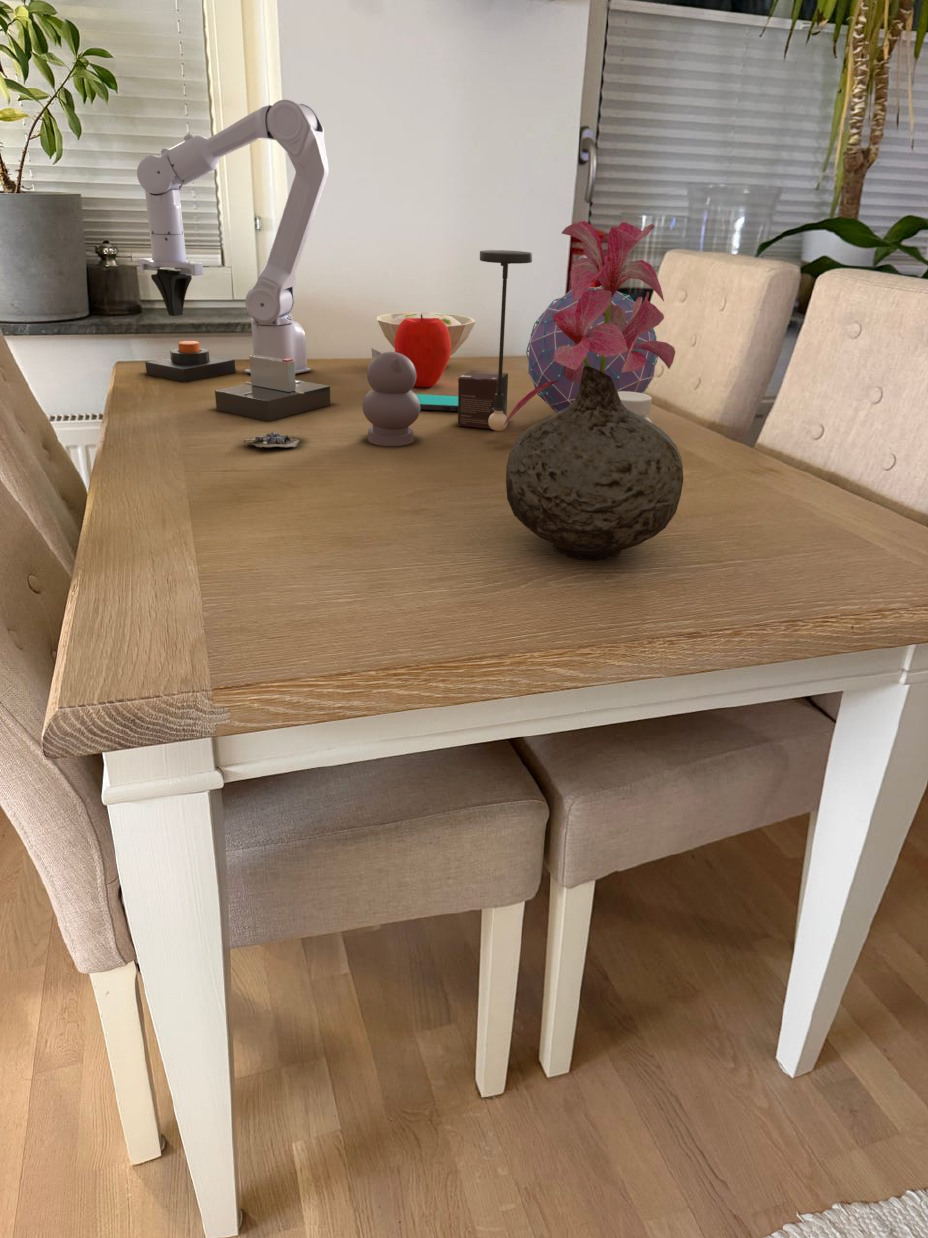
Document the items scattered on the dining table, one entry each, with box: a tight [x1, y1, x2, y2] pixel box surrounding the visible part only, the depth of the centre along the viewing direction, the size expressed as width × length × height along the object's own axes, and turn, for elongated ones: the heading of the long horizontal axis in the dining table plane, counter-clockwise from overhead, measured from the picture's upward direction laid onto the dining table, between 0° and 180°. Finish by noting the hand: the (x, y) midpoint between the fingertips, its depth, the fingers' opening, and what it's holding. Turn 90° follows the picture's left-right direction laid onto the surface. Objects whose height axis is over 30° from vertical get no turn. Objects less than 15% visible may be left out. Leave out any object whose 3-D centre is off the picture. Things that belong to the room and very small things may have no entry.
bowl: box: [376, 311, 476, 357], centre depth 172 cm, size 19×19×10 cm
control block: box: [144, 347, 237, 383], centre depth 161 cm, size 12×10×4 cm
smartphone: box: [415, 393, 458, 412], centre depth 144 cm, size 7×1×15 cm
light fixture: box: [479, 249, 533, 432], centre depth 118 cm, size 7×7×25 cm
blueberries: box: [243, 431, 301, 449], centre depth 120 cm, size 7×8×2 cm
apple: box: [394, 314, 451, 388], centre depth 156 cm, size 10×10×12 cm
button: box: [177, 340, 201, 353], centre depth 160 cm, size 4×4×2 cm
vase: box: [503, 220, 684, 561], centre depth 83 cm, size 17×17×30 cm
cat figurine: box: [362, 347, 422, 447], centre depth 122 cm, size 8×8×12 cm
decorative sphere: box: [525, 285, 659, 414], centre depth 135 cm, size 20×20×20 cm
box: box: [457, 369, 509, 430], centre depth 133 cm, size 6×6×7 cm
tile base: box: [214, 379, 331, 422], centre depth 139 cm, size 14×12×3 cm
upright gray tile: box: [248, 354, 296, 392], centre depth 138 cm, size 8×2×5 cm, turn 57°
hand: (175, 315), depth 162 cm, fingers closed
